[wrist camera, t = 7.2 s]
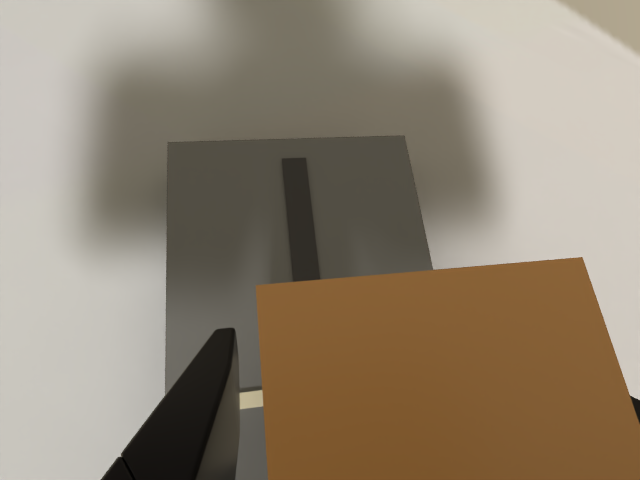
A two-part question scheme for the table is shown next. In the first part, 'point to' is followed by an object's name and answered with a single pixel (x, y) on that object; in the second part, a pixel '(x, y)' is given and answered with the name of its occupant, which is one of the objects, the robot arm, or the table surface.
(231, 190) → the console
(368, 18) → the table surface
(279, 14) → the table surface
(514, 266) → the fader knob
